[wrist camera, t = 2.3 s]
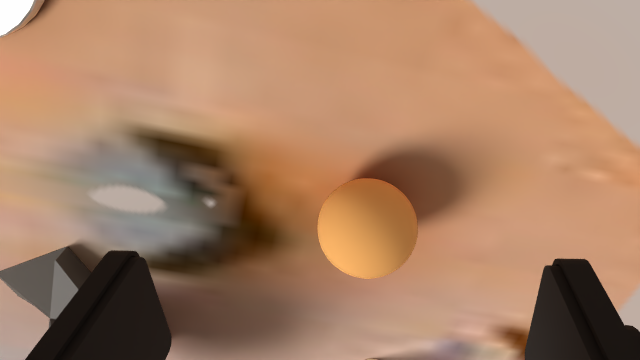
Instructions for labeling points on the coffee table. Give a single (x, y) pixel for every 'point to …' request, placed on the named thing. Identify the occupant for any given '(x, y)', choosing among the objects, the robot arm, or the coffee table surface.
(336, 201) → the ball
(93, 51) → the coffee table surface
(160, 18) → the coffee table surface
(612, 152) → the coffee table surface
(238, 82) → the coffee table surface
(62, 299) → the dark grey faceted piece
